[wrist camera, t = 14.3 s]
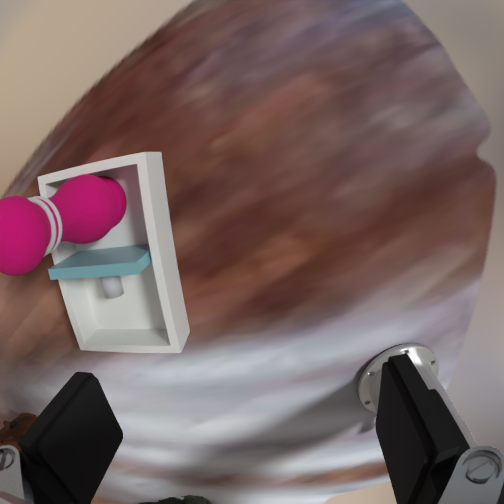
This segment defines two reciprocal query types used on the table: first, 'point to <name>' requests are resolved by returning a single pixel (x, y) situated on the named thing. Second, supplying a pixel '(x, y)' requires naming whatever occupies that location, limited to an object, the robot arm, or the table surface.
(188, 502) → the rose bouquet
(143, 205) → the white tray
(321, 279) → the table surface
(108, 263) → the pusher
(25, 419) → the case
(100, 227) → the pepper mill
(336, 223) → the table surface
